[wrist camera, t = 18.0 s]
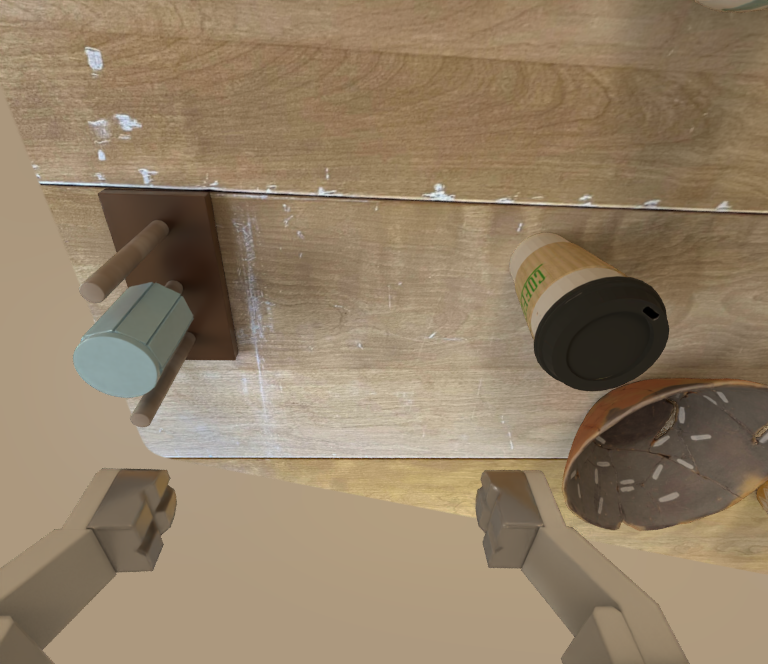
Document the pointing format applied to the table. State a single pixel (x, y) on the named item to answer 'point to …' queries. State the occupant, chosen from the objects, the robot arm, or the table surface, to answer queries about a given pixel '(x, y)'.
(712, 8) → the vase
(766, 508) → the planter
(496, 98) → the table surface
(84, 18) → the table surface
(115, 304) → the blue cup
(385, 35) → the table surface
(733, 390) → the bowl
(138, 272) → the cup rack
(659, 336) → the coffee cup
